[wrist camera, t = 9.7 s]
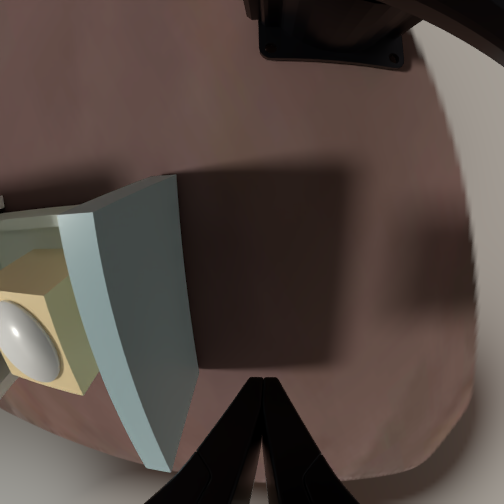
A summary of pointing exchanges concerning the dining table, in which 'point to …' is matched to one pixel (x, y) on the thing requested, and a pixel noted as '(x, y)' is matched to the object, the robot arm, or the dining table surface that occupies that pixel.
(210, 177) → the dining table surface
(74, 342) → the dome button cube
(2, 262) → the tray
